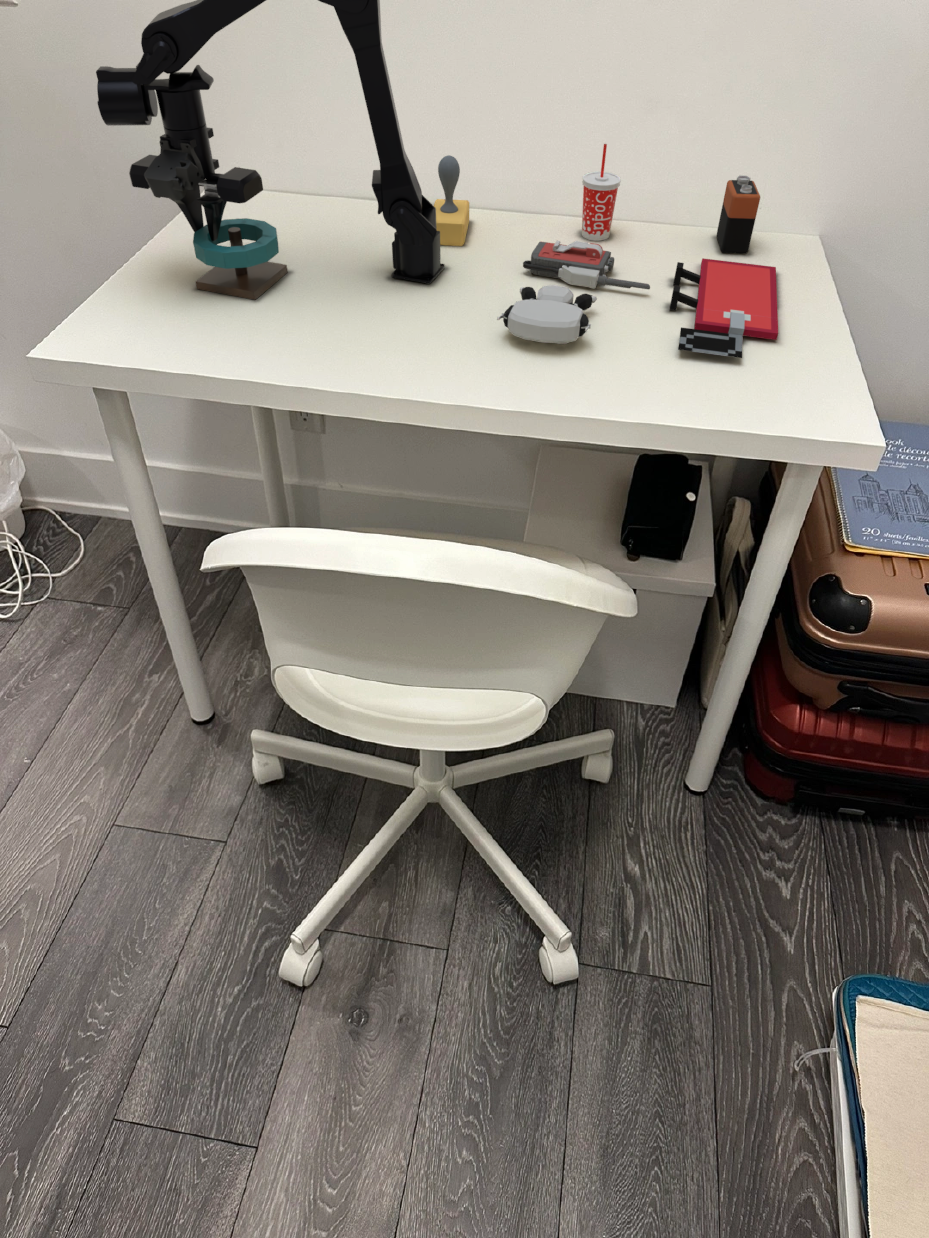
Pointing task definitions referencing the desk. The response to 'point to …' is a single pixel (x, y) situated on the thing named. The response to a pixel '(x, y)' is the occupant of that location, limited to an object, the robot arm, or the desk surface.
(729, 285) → the red board with handle
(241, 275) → the stand
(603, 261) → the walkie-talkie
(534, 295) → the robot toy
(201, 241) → the ring
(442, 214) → the rubber stamp
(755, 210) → the battery
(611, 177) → the beverage cup
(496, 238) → the desk surface
